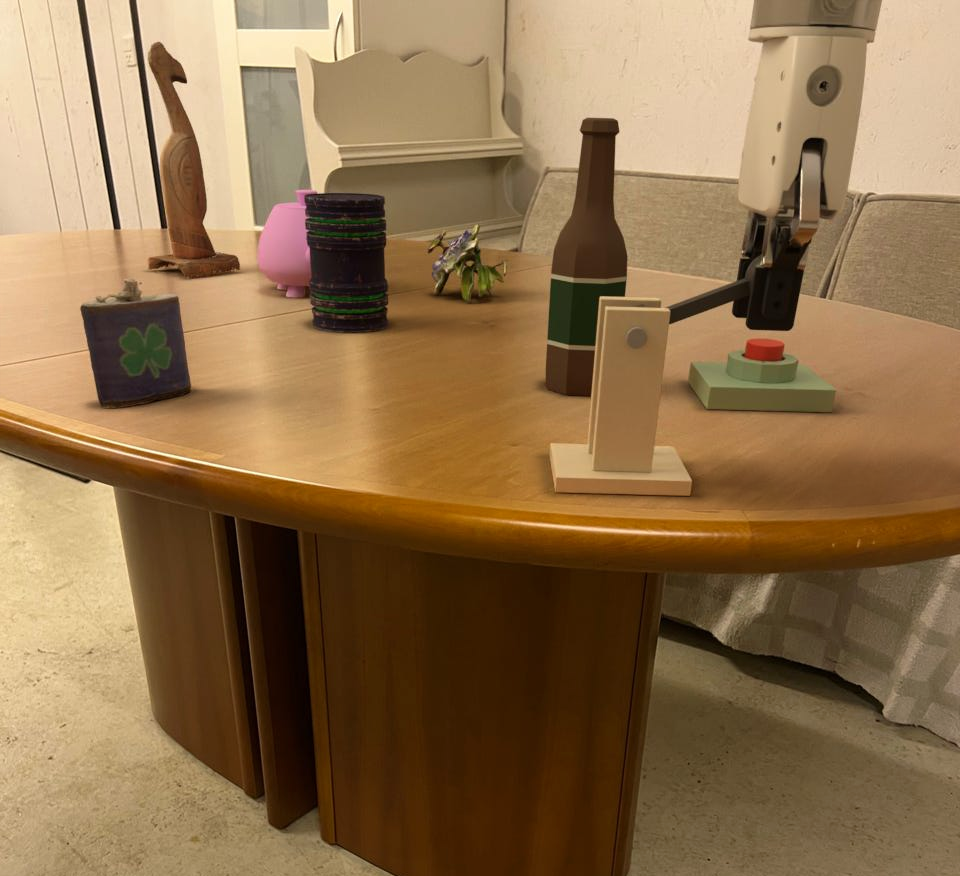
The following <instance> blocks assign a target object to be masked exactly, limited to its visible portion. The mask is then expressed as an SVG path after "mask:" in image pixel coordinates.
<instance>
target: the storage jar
mask: <svg viewBox="0 0 960 876" xmlns="http://www.w3.org/2000/svg"><path fill="white" fill-rule="evenodd" d="M304 200H305V204H306V209H305V215H306V217H309V218H307V219H305V226H306V227H305V229H306V230H309V231H308V232H306V235H307V238H306V240H307V245H308V246H309V248H310V263H311V279H310V281H309V284H310V285H309V286H308V288H309V292H310V294H309V301H310V302H309V305H310V306H312V307H311V313H312V317H313V319H312V326H313V328H315V329H317V330H321V331H324V332H331V333H345V334H346V333H347V334H351V333H353V334H354V333H355V334H356V333H369V332H376V331H381V330H384V329H386V328H387V327H388V326H389V320H388V318H387V316H388V315H387V314H388V312H389V310H388V307H387V306H389V294H388V291H389V285H388V280H387V278H386V267H385V266H386V265H385V261H386V260H385V248H386V247H387V240H388V238H387V233H386V232H385V231H387V219H384V218H386V210H385V205H386V197H385V196H384V195H380V194H372V193H358V192H357V193H356V192H355V193H353V192H349V193H348V192H323V193H322V192H321V193H320V192H319V193H317V194H308V195H305V196H304Z"/></svg>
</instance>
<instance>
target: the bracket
mask: <svg viewBox="0 0 960 876" xmlns="http://www.w3.org/2000/svg"><path fill="white" fill-rule="evenodd" d="M640 304H644V305H645V306H646V307H647V308H646V307H635V306H638V305H640ZM669 320H670V310H669V309H668V308H666V307H662V299H661V298H659V297H643V296H642V297H637V296H625V297H607V296H601V297H600V298H599V310H598V322H597V334H596V346H595V358H594V370H593V382H592V394H591V396H590V408H589V417H588V418H589V419H588V430H587V431H588V432H587V441H586V443H560V442H559V443H557V442H551V443H550V445H549V449H550V450H549V461H550V468H551V474H552V480H553V481H552V482H553V486H554V492H555V493H568V494H601V495H602V494H606V495H638V496H639V495H642V496H643V495H645V496H681V497H689V496H691V491H692V485H693V480H692V478H691V476H690V474H689V472H688V470H687V468H686V467H685V465H684V463H683V461H682V459H681V457H680V455H679V453H678V451H677V450H676V448H675V446H674V445H673V446H669V445H655V444H656V437H657V427H658V418H659V411H660V402H661V393H662V387H663V377H664V368H665V362H666V353H667V352H666V351H667V344H668V337H669V327H670V325H669Z"/></svg>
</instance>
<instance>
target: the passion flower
mask: <svg viewBox="0 0 960 876" xmlns="http://www.w3.org/2000/svg"><path fill="white" fill-rule="evenodd" d="M480 228H481V227H480V224H479V223H478V224H475V225H474V226H473V229H472V230H471V231H470V232H469V230H468V229H467V230H464V232H463V234H459V236H458V237H455V239H452V241H450V242H449V241H448V242H447V243H448V245H447V246H445V244H444V243H443V242H442V241H443V239H444V238H445V236H446V235H447V232H446V231H445V230H443V232H441V233H440V234H439V235H437V237H434V240H433V241H432V242H431V244H430V245H429V247H428V249H427V254H431V253H432V252H433V251H434V250H435V249H436V248H437V247H441V249H442V252H441V253H439V256H438V259H437V260H436V261H435V263H433V264H432V265H431V269H432V272H431V277H432V280H433V282H435V283H436V284H435V287H434V288H435V289H434V291H433V295H435V296H440V295H441V294H443V291H444V289H445V286H446V284H447V282H448V280H449V278H450V275H451V273H453V272H454V271H455V274H456V276H457V277H458V279H460V289H461V290H460V291H461V297H462V299H463V300H464V301H466V302H467V303H468V304H471V300H472V299H471V298H472V294H473V292H474V288H475V274H476V276H477V281H476V283H477V290H478V291H477V294H478V297H479V298H481V297H482V296H484V294H486V292H487V293H488V294H489V296H490V297H491V296H492V294H491V290H492V289H493V288H494V285H495V280H497V281H498V282H500V283H504V282H505V281H504V278H503V276H504V277H506V275H507V271H508V270H507V269H508V265H507V264H508V260H509V259H504V260H501V262H500V263H498V264H495V265H493V266H492V265H488V264H486V265H485V264H484V265H483V264H482V258H481V254H482V250H481V248H480V247H479V243H480V241H479V238H478V234H479V231H480ZM468 262H472V263H471V265H468V264H467V263H468ZM500 266H502V267H503V268H502V272H503V273H502V275H503V276H502V275H501V273H500V272H499V271H498V270H497V268H496V267H500Z"/></svg>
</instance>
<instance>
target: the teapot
mask: <svg viewBox="0 0 960 876" xmlns="http://www.w3.org/2000/svg"><path fill="white" fill-rule="evenodd" d="M294 193H295V196H296V198H297V200H298V201H297V202H281V203H277V204H275V205H274V206H273V208H272V210H271V212H270V214H269V215H268V217H267V219H266V221H265V224H264V226H263V228H262V231H261V233H260V237H259V240H258V246H257V257H256V258H257V259H256V261H257V266H258V268H259V270H260V271H261V272H262V273H263V275H264V276H265V277H266V278H267V279H268V281H270V282H271V283H275V284H278V285H277V286H276V287H277V288H276V289H278V290H283V291H284V290H285V291H286V293H285V297H287V298H303V297H305V296H306V287H309V285H310V284H309V281H310V279H311V263H310V248H309V246H308V245H307V240H306V238H307V235H306V232H308V231H309V230H306V229H305V227H306V226H305V219H307V218H309V217H306V215H305V209H306V204H305V200H304V196H305V195H308V194H318V191H317V190H314V189H297V190H295V192H294Z"/></svg>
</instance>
